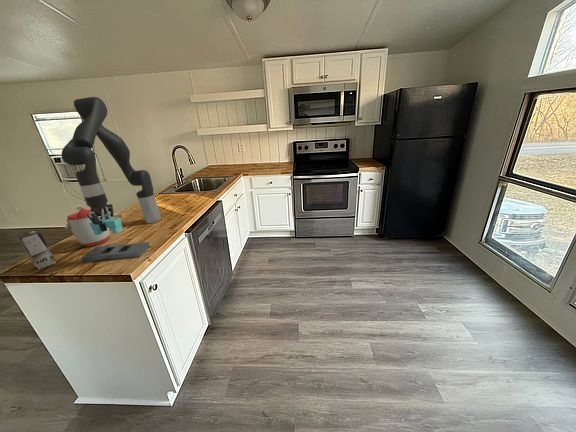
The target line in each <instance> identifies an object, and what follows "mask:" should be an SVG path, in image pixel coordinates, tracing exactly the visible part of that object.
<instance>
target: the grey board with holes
mask: <svg viewBox="0 0 576 432" xmlns="http://www.w3.org/2000/svg"><path fill="white" fill-rule="evenodd" d="M149 248H151V245H150V242H149V241H145V242H133V243H126V244H125V243H122V244H112V245H111V244H110V245H102V246H95V247H93V248H92V249H91V250H90V251H88V252H87V253H85V254H84V255H83V256H81V258H80V259H82V262H83V263H88V262H98V261H109V260H119V259H130V258H141V257H142V255H144V253H146V251H147V250H148V249H149Z"/></svg>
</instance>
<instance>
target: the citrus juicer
mask: <svg viewBox="0 0 576 432" xmlns="http://www.w3.org/2000/svg"><path fill="white" fill-rule="evenodd" d="M90 213H91V208H89V209H86V208H83V207H82V208H80V210H79V211H77V212H75V213H74V212H73V213H71V214H68V215H67V216H66V217H67V219H66V221H67V223H65V227H64V229H65V230H67V229H68V228H69V229H71V232H72V234H73V236H74V238H75V239H76V240H77V241H78V242H79V244H81V245H82V246H83V247H87V248H88V247H93V246H95V247H96V246H98V245H100V244H103V243H106V242H107V241H109V240H110V228H107V231H104V232H103V233H101V234H100V235H95V234H94V232H93V229H91V226H90V224H89V223H91V222H92V221H91V220H90V219H89V218H88V216H87V214H90ZM98 217H101V216H98ZM104 219H105V218H104ZM99 220H100V219H99Z"/></svg>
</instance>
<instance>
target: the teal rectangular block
mask: <svg viewBox="0 0 576 432" xmlns="http://www.w3.org/2000/svg"><path fill="white" fill-rule="evenodd" d="M100 221H101V219H100ZM104 223H105V225H106V228H109V229H110V231H111V233H112V234H118V233H119V232H121V231H122V230H124V228H123V226H122V222H121V219H120V217H112V219H104ZM89 224H90V226H91V229H93V232H94V234H95V235H100V234H101V233H103V232H104V231H101V229H100V227H99V225H98V224H96V225H94V224H93V223H92V222H91V223H89Z"/></svg>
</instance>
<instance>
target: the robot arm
mask: <svg viewBox="0 0 576 432" xmlns="http://www.w3.org/2000/svg"><path fill="white" fill-rule="evenodd" d="M73 107H74V108H75V111H76V112H77V113H78V115H79V116H80V118H81V119H82V121H81V122H80V123H79V124H78V125H77V127H75V130H74V132H73V136H72V138H71V139H70V140H69V141H68V143H67V144H65V145H64V147H63V148H62V149H61V150H62V151H61V158H62V160H63V161H64V163H66V164H67V165H69V166H81V165H84V169H82V170H79V171H77V172H75V176H76V179H77V182H78V185H79V188H80V192H81V194H82V197H83V199H84V201H85V204H86V206H87V207H88V208H89V207H90V209H91V213H90V214H87V216H88V218H89V219H90V220H91V221H92V223H93V224H94V225H96V224H98V225H99V227H100V229H101V231H107V228H106V225H105V223H104V218H105V219H112V218H114V216H115V214H114V207H113V204H112V203H110V204H109V203H108V202H109V200H108V197H107V196H106V192H105V189H104V188H103V185H102V184H101V181H100V178H99V176H98V174H97V156H96V153H95V152H94V150H93V148H94V144H95V141H96V140H95V139H96V137H97V138H98V139H99V140H100V142H101V143H102V144H103V146H104V147H105V149H106V150H107V151H108V153H109V155H111V158H113V159H114V161H115V163H116V164H117V165H118V167H119V168H120V170H121V171H122V173H123V175H124V176H125V178H126V180H127V181H128V182H129V184H130V185H131V186H135V187H137V186H139V187H141V190H139V191H137V192H136V197H137V200H138V203H139V206H140V209H141V212H142V213H141V214H142V216H143V219H144V223H146V224H155V223H157V222H160V221H161V220H162V217H161V213H160V212H161V211H160V209H159V206H158V204H157V203H158V202H157V200H156V197H155V193H154V186H153V181H152V178H151V174H150V172H149V171H147V170H145V169H144V170H143V169H142V170H139V169H138V170H135V169H134V168H133V166H132V164H131V163H130V162H131V161H130V157H131V153H130V149H129V147H128V146H127V144H126V142H125V140H123V138H122V137H120V136H119V135H118V134H116V133H115V132H113V131H111V130H109V129H108V128H106V127H105V126H104V125H103V123H104V121H105V119H106V117H107V115H108V107H107V105H106V103H105V102H104V101H103V100H102V98H101V97H100V98H99V97H98V96H97V97H96V96H91V97H81V98H76V99H74V101H73ZM98 216H101V217H98ZM99 219H101V221H100V220H99Z"/></svg>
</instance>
